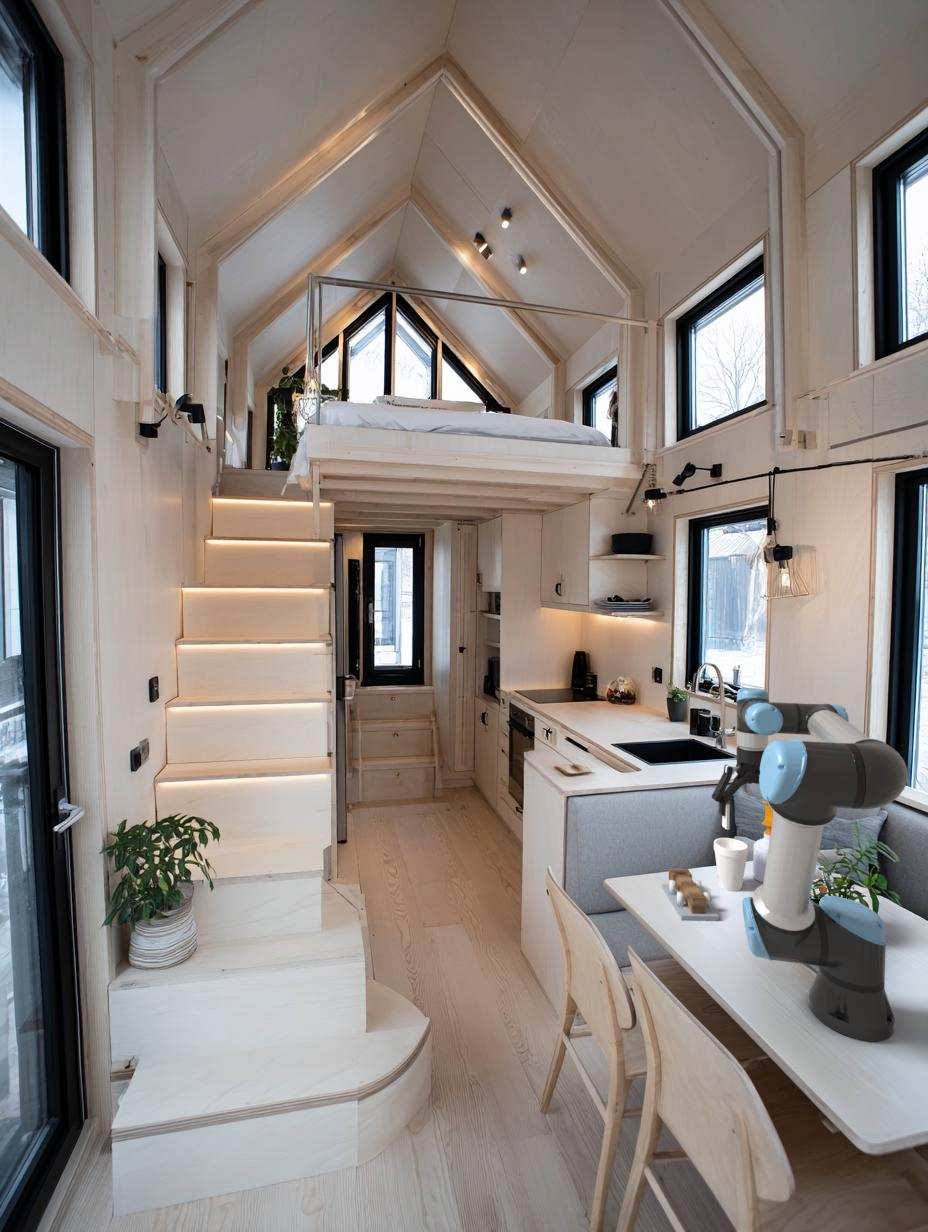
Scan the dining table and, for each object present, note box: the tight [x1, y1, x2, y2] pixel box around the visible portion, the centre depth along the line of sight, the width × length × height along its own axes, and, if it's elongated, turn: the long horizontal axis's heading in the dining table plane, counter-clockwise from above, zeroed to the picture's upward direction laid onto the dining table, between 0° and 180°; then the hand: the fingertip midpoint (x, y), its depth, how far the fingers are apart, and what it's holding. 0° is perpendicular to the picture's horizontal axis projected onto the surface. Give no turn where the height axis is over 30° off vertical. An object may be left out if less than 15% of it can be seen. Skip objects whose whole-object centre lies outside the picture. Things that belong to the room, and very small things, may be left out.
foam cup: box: [713, 837, 749, 892], centre depth 184 cm, size 10×9×13 cm
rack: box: [661, 879, 720, 922], centre depth 174 cm, size 18×10×5 cm, turn 178°
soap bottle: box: [752, 800, 773, 884], centre depth 189 cm, size 9×9×25 cm
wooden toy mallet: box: [668, 867, 706, 914], centre depth 175 cm, size 18×6×4 cm, turn 178°
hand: (751, 828), depth 160 cm, fingers open, 13 cm apart
